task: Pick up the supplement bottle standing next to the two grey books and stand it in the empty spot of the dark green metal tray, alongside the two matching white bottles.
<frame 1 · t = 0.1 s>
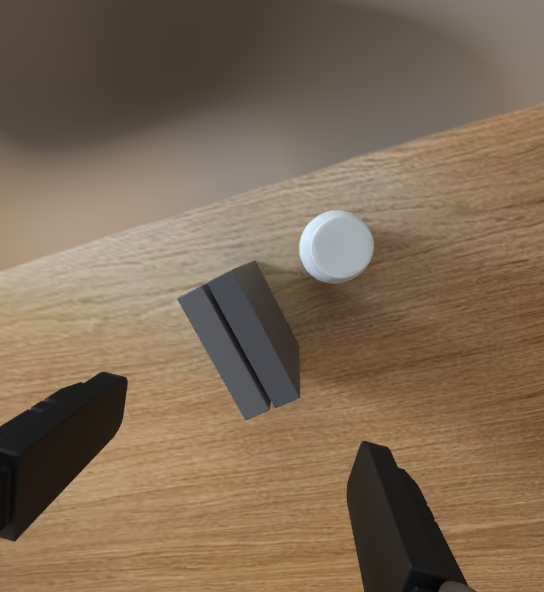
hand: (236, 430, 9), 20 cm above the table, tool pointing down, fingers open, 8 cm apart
grey books: (258, 313, 29), on the table
supplement bottle: (325, 247, 27), on the table
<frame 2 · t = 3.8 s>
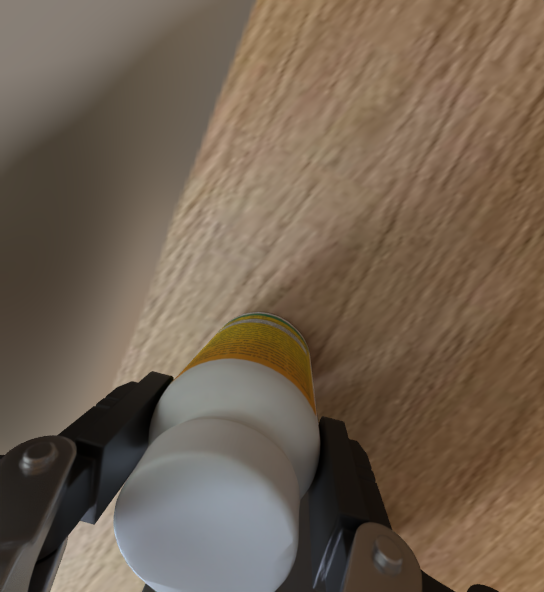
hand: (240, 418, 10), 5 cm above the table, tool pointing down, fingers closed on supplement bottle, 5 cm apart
grey books: (276, 503, 17), on the table
supplement bottle: (261, 355, 15), on the table, touching gripper
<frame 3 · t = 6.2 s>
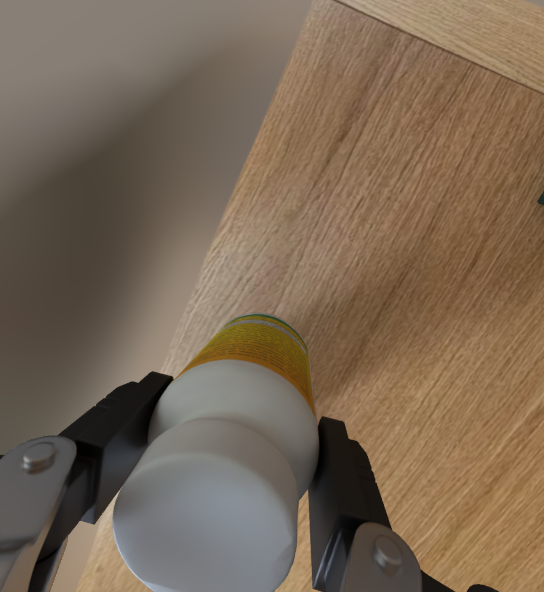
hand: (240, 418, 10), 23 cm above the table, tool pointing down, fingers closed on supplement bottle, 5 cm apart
supplement bottle: (260, 355, 15), point 17 cm above the table, touching gripper
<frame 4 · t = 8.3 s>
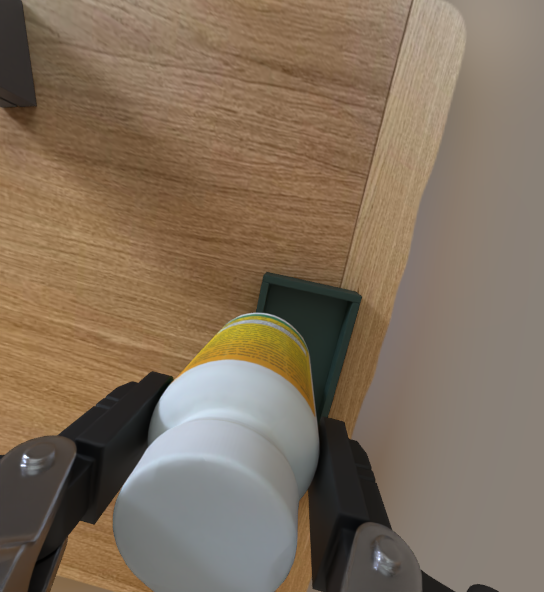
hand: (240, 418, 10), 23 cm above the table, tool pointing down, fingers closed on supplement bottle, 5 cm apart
tray: (288, 373, 34), on the table
grey books: (11, 56, 30), on the table
supplement bottle: (260, 355, 15), point 18 cm above the table, touching gripper
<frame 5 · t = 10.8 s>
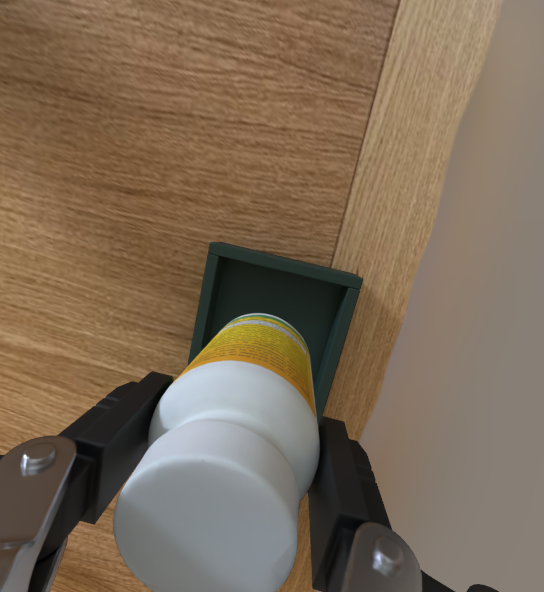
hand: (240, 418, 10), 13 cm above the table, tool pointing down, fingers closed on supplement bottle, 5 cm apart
tray: (254, 392, 24), on the table
supplement bottle: (261, 356, 15), point 7 cm above the table, touching gripper
when the fingers open (7 cm above the table, at t = 12.9 s): supplement bottle stays where it is, resting on tray.
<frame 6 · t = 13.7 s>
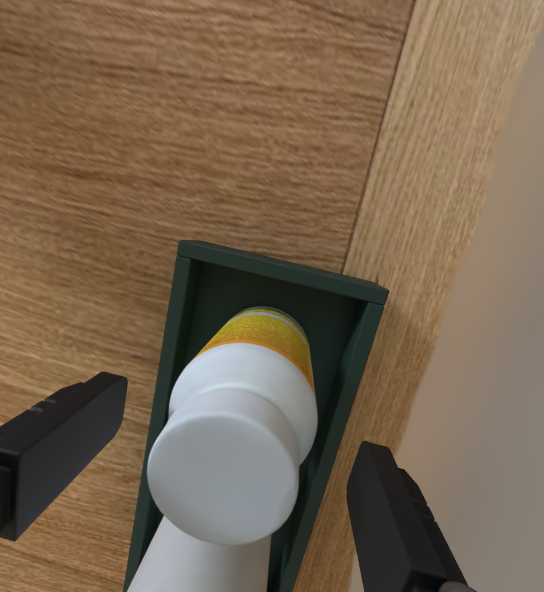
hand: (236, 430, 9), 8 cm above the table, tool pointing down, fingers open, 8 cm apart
white bottles: (241, 441, 18), resting on tray
tray: (244, 431, 19), on the table
supplement bottle: (264, 346, 17), point 1 cm above the table, touching tray
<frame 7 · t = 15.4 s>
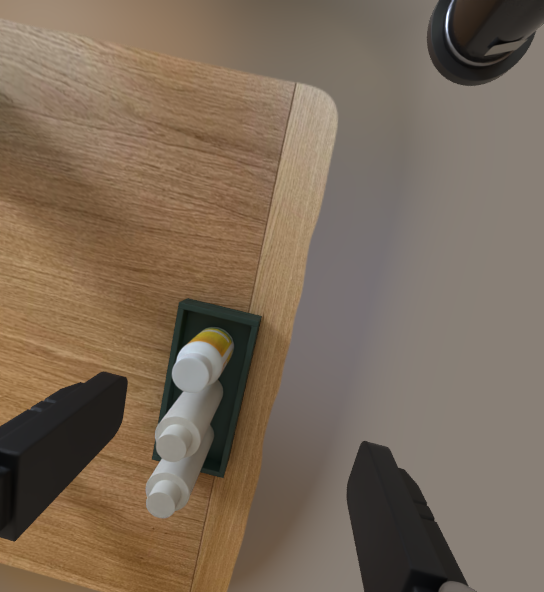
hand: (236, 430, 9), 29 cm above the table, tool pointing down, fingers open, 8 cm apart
white bottles: (206, 387, 39), resting on tray
tray: (208, 384, 40), on the table
supplement bottle: (215, 344, 38), point 1 cm above the table, touching tray
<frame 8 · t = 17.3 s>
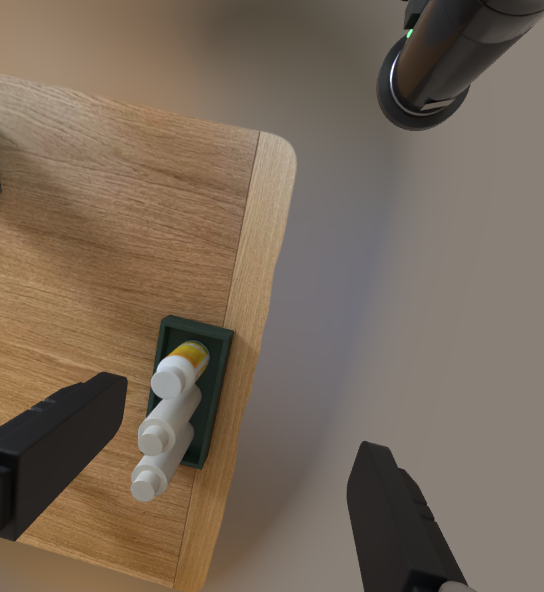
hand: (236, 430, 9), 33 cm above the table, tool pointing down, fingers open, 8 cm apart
white bottles: (187, 391, 45), resting on tray
tray: (189, 388, 46), on the table
supplement bottle: (194, 354, 44), point 1 cm above the table, touching tray
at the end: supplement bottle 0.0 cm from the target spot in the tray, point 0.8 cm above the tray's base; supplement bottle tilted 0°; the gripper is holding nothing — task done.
